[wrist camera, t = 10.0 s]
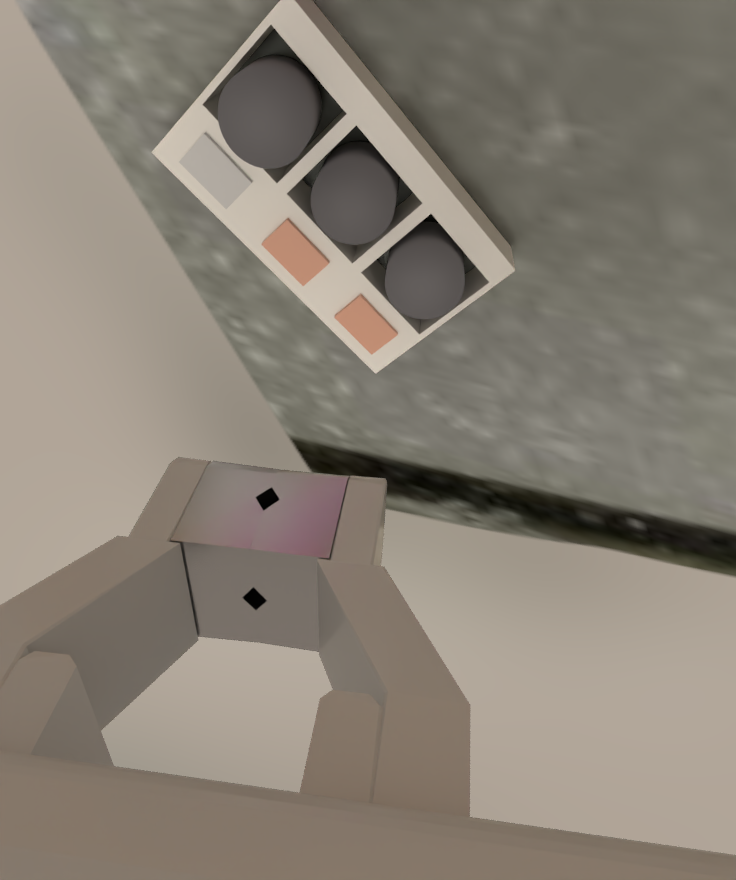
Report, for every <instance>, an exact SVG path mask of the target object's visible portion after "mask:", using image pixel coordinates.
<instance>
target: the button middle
mask: <svg viewBox="0 0 736 880" xmlns="http://www.w3.org/2000/svg"><path fill="white" fill-rule="evenodd" d="M398 188H399V178H398V174H397V173H396V171H395V170H394V169H393V168H392V167H391V166H390V164H389V163H388V162H387V161H386V160H385V159H384V157H383V156H382V155H381V154H380V153H379V151H378V150H377V149H376V148H375V147H374V146H373V144H371V143H367V142H361V141H355V142H349V143H346V144H343V145H341V146H339V147H338V148H336V149H335V150H334V151H333V152H332V153H331V154H330V155H329V156H328V157H327V159H326V161H325V162H324V164H323V166H322V168H321V170H320V172H319V174H318V176H317V178H316V180H315V182H314V184H313V188H312V191H311V209H312V213H313V216H314V218H315V220H316V222H317V224H318V225H319V227H320V228H321V229H322V230H323V231H324V232H325V233H326V234H327V235H328V236H329V237H331V238H333V239H334V240H336V241H339V242H341V243H345V244H350V245H359V244H364V243H368V242H370V241H373V240H375V239H376V238H378V237H379V236H380V235H382V234H383V233H384V232H385V230H386V229H387V228H388V226H389V225H390V223H391V221H392V218H393V215H394V211H395V205H396V200H397V194H398Z"/></svg>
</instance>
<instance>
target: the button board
mask: <svg viewBox="0 0 736 880" xmlns="http://www.w3.org/2000/svg"><path fill="white" fill-rule="evenodd" d="M273 29H275V30H276V31H277V32H278V33H279V35H280V36H281V37H282V38H283V39H284V40H285V42H286V43H287V44H288V45H289V46H290V48H291V49H292V50H293V51H294V52H295V53H296V55H297V56H298V57H299V58H300V59H301V61H302V62H303V63H304V64H305V65H306V66H307V68H308V69H309V70H310V71H311V72H312V73H313V75H314V76H315V77H316V78H317V79H318V81H319V82H320V83H321V84H322V85H323V86H324V88H325V89H326V90H327V91H328V92H329V94H330V95H331V96H332V97H333V98H334V99H335V101H336V102H337V103H338V104H339V105H340V107H341V108H342V109H343V111H342V112H341V113H340V114H339V115H338V116H337V117H336V118H335V119H334V120H333V121H332V122H331V123H330V124H329V125H328V126H327V127H326V128H325V129H324V130H323V131H322V132H321V133H320V134H319V135H318V136H317V137H316V138H315V139H314V140H313V141H312V142H311V143H310V144H309V145H308V147H307V148H306V149H305V150H304V151H303V152H302V153H301V154H300V155H299V156H298V157H297V158H296V159H295V160H294V161H293V162H292V163H291V164H290V165H289V164H288V165H285V166H283V167H280V168H274V169H265V168H259V167H255V166H253V165H250V164H248V163H247V162H245V161H243V160H242V159H241V158H239V157H238V156H237V155H236V154H235V153H234V152H233V151H232V150H231V149H230V147H229V146H228V144H227V143H226V141H225V139H224V137H223V135H222V133H221V130H220V126H219V122H218V103H219V98H220V95H221V90H222V89H223V87H224V86H225V85H226V84H227V82H228V81H229V80H230V79H231V78H232V77H233V76H234V75H235V74H236V72H237V71H238V70H239V69H240V68H241V67H242V65H243V64H244V63H245V62H246V61H247V60H248V58H249V57H250V56H251V55H252V54H253V53H254V51H255V50H256V49H257V48H258V47H259V46H260V44H261V43H262V42H263V41H264V40H265V39H266V37H267V36H268V35H269V34H270V33H271V32H272V31H273ZM356 125H357V127H358V128H359V129H360V130H361V131H362V133H363V134H364V135H365V136H366V137H367V138H368V140H369V141H370V142H371V143H372V144H373V146H374V147H375V148H376V149H377V150H378V151H379V153H380V154H381V155H382V156H383V157H384V159H385V160H386V161H387V162H388V163H389V164H390V166H391V167H392V168H393V169H394V170H395V171H396V173H397V174H398V175H399V176H400V177H401V179H402V180H403V181H404V182H405V183H406V184H407V186H408V187H409V188H410V189H411V190H412V192H413V194H412V195H410V196H409V197H408V198H407V199H406V200H405V201H404V202H402V203H401V204H400V205H399V206H398V207H397V208H396V209H395V211H394V215H393V218H392V221H391V223H390V225H389V226H388V228H387V229H386V230H385V232H384V233H383V234H382V235H380V236H379V237H378V238H376V239H375V240H373V241H370V242H368V243H364V244H359V245H350V244H345V243H341V242H339V241H336V240H334V239H333V238H331V237H329V236H328V235H327V234H326V233H325V232H324V231H323V230H322V229H321V228H320V227H319V225H318V224H317V222H316V220H315V218H314V216H313V213H312V209H311V191H312V189H311V188H310V187H309V186H308V185H307V184H306V183H305V182H304V181H303V180H302V178H303V177H304V176H305V175H306V174H307V173H308V172H309V171H310V170H311V169H312V168H313V167H314V166H315V165H316V164H317V163H318V162H319V161H321V160H322V159H323V158H324V157H325V156H326V155H327V154H328V153H329V152H330V151H331V150H332V149H333V148H334V147H335V146H336V145H337V144H338V143H339V142H340V141H341V140H342V139H343V138H344V137H345V136H346V135H347V134H348V133H349V132H350V131H351V130H352V129H353V128H354V127H355V126H356ZM152 153H153V154H154V155H155V156H156V157H157V158H158V159H159V160H160V161H161V162H162V163H163V164H164V165H165V166H166V167H167V168H168V169H169V170H170V171H171V172H172V173H173V174H174V175H175V176H176V177H177V178H178V179H179V180H180V181H181V182H182V183H183V184H184V185H185V186H186V187H187V188H188V189H189V190H190V191H191V192H192V193H193V194H194V195H195V196H196V197H197V198H198V199H199V200H200V201H201V202H202V203H203V204H204V205H205V206H206V207H207V208H208V209H209V210H210V211H211V212H212V213H213V214H214V215H215V216H216V217H217V218H218V219H219V220H221V221H222V222H223V223H224V224H225V225H226V226H227V227H228V228H229V229H230V230H231V231H232V232H233V233H234V234H235V235H236V236H237V237H238V238H239V239H240V240H241V241H242V242H243V243H244V244H245V245H246V246H247V247H248V248H249V249H250V250H251V251H252V252H253V253H254V254H255V255H256V256H257V257H258V258H259V259H260V260H261V261H262V262H263V263H264V264H265V265H266V266H267V267H268V268H269V269H270V270H271V271H272V272H273V273H274V274H275V275H276V276H277V277H278V278H279V279H280V280H281V281H282V282H283V283H284V284H285V285H286V286H287V287H288V288H289V289H290V290H291V291H292V292H293V293H294V294H295V295H296V296H297V297H299V298H300V299H301V300H302V301H303V302H304V303H305V304H306V305H307V306H308V307H309V308H310V309H311V310H312V311H313V312H314V313H315V314H316V315H317V316H318V317H319V318H320V319H321V320H322V321H323V322H324V323H325V324H326V325H327V326H328V327H329V328H330V329H331V330H332V331H333V332H334V333H335V334H336V335H337V336H338V337H339V338H340V339H341V340H342V341H343V342H344V343H345V344H346V345H347V346H348V347H349V348H350V349H351V350H352V351H353V352H354V353H355V354H356V355H357V356H358V357H359V358H360V359H361V360H362V361H363V362H364V363H365V364H366V365H367V366H368V367H369V368H370V369H371V370H372V371H373V372H374V373H377V372H379V371H380V370H381V369H383V368H384V367H385V366H387V365H388V364H389V363H391V362H392V361H393V360H395V359H396V358H398V357H399V356H400V355H402V354H403V353H404V352H406V351H407V350H408V349H410V348H411V347H412V346H414V345H415V344H416V343H418V342H419V341H421V340H422V339H423V338H425V337H426V336H427V335H429V334H430V333H431V332H433V331H434V330H435V329H437V328H438V327H440V326H441V325H442V324H444V323H445V322H446V321H448V320H449V319H450V318H452V317H453V316H454V315H456V314H457V313H458V312H460V311H461V310H463V309H464V308H465V307H467V306H468V305H469V304H471V303H472V302H473V301H475V300H476V299H477V298H479V297H480V296H481V295H483V294H484V293H486V292H487V291H488V290H490V289H491V288H492V287H494V286H495V285H496V284H498V283H499V282H500V281H502V280H503V279H504V278H506V277H507V276H509V275H510V274H511V273H513V272H514V271H515V265H514V260H513V255H512V250H511V246H510V245H509V244H508V242H507V241H506V240H505V239H504V237H503V236H502V235H501V234H500V232H499V231H498V230H497V229H496V227H495V226H494V225H493V224H492V222H491V221H490V220H489V219H488V217H487V216H486V215H485V214H484V213H483V211H482V210H481V209H480V208H479V206H478V205H477V204H476V203H475V201H474V200H473V199H472V198H471V196H470V195H469V194H468V193H467V191H466V190H465V189H464V188H463V186H462V185H461V184H460V183H459V182H458V180H457V179H456V178H455V177H454V175H453V174H452V173H451V172H450V170H449V169H448V168H447V167H446V165H445V164H444V163H443V162H442V160H441V159H440V158H439V157H438V155H437V154H436V153H435V152H434V151H433V149H432V148H431V147H430V146H429V144H428V143H427V142H426V141H425V139H424V138H423V137H422V136H421V134H420V133H419V132H418V131H417V129H416V128H415V127H414V126H413V124H412V123H411V122H410V121H409V120H408V118H407V117H406V116H405V115H404V113H403V112H402V111H401V110H400V108H399V107H398V106H397V105H396V103H395V102H394V101H393V100H392V98H391V97H390V96H389V95H388V93H387V92H386V91H385V90H384V89H383V87H382V86H381V85H380V84H379V82H378V81H377V80H376V79H375V77H374V76H373V75H372V74H371V72H370V71H369V70H368V69H367V67H366V66H365V65H364V64H363V62H362V61H361V60H360V59H359V58H358V56H357V55H356V54H355V53H354V51H353V50H352V49H351V48H350V46H349V45H348V44H347V43H346V41H345V40H344V39H343V38H342V36H341V35H340V34H339V33H338V31H337V30H336V29H335V28H334V27H333V25H332V24H331V23H330V22H329V20H328V19H327V18H326V17H325V15H324V14H323V13H322V12H321V10H320V9H319V8H318V7H317V5H316V4H315V3H314V2H313V0H280V1H279V2H278V3H277V5H276V6H275V7H274V8H273V9H272V10H271V12H270V13H269V14H268V15H267V16H266V18H265V19H264V20H263V21H262V22H261V23H260V25H259V26H258V27H257V28H256V29H255V31H254V32H253V33H252V34H251V35H250V36H249V38H248V39H247V40H246V41H245V42H244V44H243V45H242V46H241V47H240V48H239V50H238V51H237V52H236V53H235V54H234V55H233V57H232V58H231V59H230V60H229V61H228V63H227V64H226V65H225V66H224V67H223V68H222V70H221V71H220V72H219V73H218V74H217V76H216V77H215V78H214V79H213V80H212V81H211V83H210V84H209V85H208V86H207V87H206V89H205V90H204V91H203V92H202V93H201V94H200V96H199V97H198V98H197V99H196V100H195V102H194V103H193V104H192V105H191V106H190V108H189V109H188V110H187V111H186V112H185V113H184V115H183V116H182V117H181V118H180V119H179V121H178V122H177V123H176V124H175V125H174V126H173V128H172V129H171V130H170V131H169V132H168V134H167V135H166V136H165V137H164V138H163V139H162V141H161V142H160V143H159V144H158V145H157V147H156V148H155V149H154V150H153V151H152ZM430 214H432V215H433V216H434V218H435V219H436V220H437V221H438V222H439V223H440V225H441V226H442V227H443V228H444V229H445V231H446V232H447V233H448V234H449V235H450V236H451V238H452V239H453V240H454V241H455V242H456V244H457V245H458V246H459V247H460V248H461V249H462V251H463V252H464V253H465V254H466V255H467V256H468V258H469V259H470V260H471V261H472V262H473V264H474V265H475V266H476V267H474V268H473V269H472V270H470V271H469V272H468V273H466V274H465V287H464V291H463V294H462V297H461V299H460V300H459V302H458V303H457V305H456V306H455V307H454V308H453V309H452V310H450V311H449V312H448V313H446V314H444V315H442V316H440V317H437V318H433V319H416V318H412V317H409V316H406V315H405V314H403V313H401V312H400V311H399V310H397V309H396V308H395V307H394V306H393V304H392V303H391V302H390V300H389V298H388V296H387V293H386V290H385V275H386V270H385V269H384V267H383V266H382V265H381V264H380V263H379V262H378V261H377V260H376V259H378V258H379V257H380V256H381V255H382V254H384V253H385V252H386V251H387V250H388V249H390V248H391V247H392V246H393V245H394V244H395V243H397V242H398V241H399V240H400V239H401V238H403V237H404V236H405V235H406V234H407V233H408V232H410V231H411V230H412V229H413V228H414V227H416V226H417V225H418V224H419V223H420V222H422V221H423V220H424V219H425V218H426V217H427V216H429V215H430Z"/></svg>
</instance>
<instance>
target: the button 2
mask: <svg viewBox="0 0 736 880" xmlns="http://www.w3.org/2000/svg"><path fill="white" fill-rule="evenodd" d="M464 287H465V275H464V256H463V251H462V249H461V248H460V247H459V246H458V245H457V244H456V242H455V241H454V240H453V239H452V238H451V236H450V235H449V234H448V233H447V232H446V231H445V229H444V228H443V227H442V226H441V225H440V224H438V223H434V222H420V223H419V224H418V225H417V226H416V227H414V228H413V229H412V230H411V231H410V232H408V233H407V234H406V235H405V236H404V237H403V238H401V239H400V240H399V241H398V242H397V243H395V244H394V245H393V246H392V247H391V248H390V252H389V257H388V263H387V269H386V275H385V290H386V293H387V296H388V298H389V300H390V302H391V303H392V304H393V306H394V307H395V308H396V309H397V310H399V311H400V312H401V313H403V314H405V315H406V316H409V317H412V318H416V319H433V318H437V317H440V316H442V315H444V314H446V313H448V312H449V311H450V310H452V309H453V308H454V307H455V306H456V305H457V303H458V302H459V300H460V299H461V297H462V294H463V291H464Z"/></svg>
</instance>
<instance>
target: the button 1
mask: <svg viewBox="0 0 736 880" xmlns="http://www.w3.org/2000/svg"><path fill="white" fill-rule="evenodd" d="M321 111H322V103H321V96H320V92H319V89H318V86H317V84H316V82H315V80H314V78H313V77H312V75H311V74H310V73H309V71H308V70H307V69H306V68H305V67H304V66H302V65H301V64H300V63H298V62H297V61H295V60H293V59H291V58H289V57H286V56H281V55H268V56H264V57H261V58H259V59H257V60H255V61H254V62H252V63H251V64H249V65H248V66H247V67H245V68H244V69H242V70H241V71H240V72H238V73H237V74H236V75H234V76H233V77H232V78H231V79H230V80H229V81H228V82H227V84H226V85H225V87H224V88H223V90H222V92H221V95H220V98H219V103H218V122H219V126H220V130H221V133H222V135H223V137H224V139H225V141H226V143H227V144H228V146H229V147H230V149H231V150H232V151H233V152H234V153H235V154H236V155H237V156H238V157H239V158H241V159H242V160H243V161H245V162H247V163H248V164H250V165H253V166H255V167H259V168H265V169H274V168H280V167H283V166H285V165H288V164H289V163H291V162H293V161H294V160H295V159H296V158H297V157H298V156H299V155H300V154H301V153H302V151H303V150H304V148H305V147H306V145H307V144H308V142H309V140H310V139H311V137H312V136H313V134H314V132H315V131H316V129H317V127H318V125H319V122H320V118H321Z"/></svg>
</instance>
